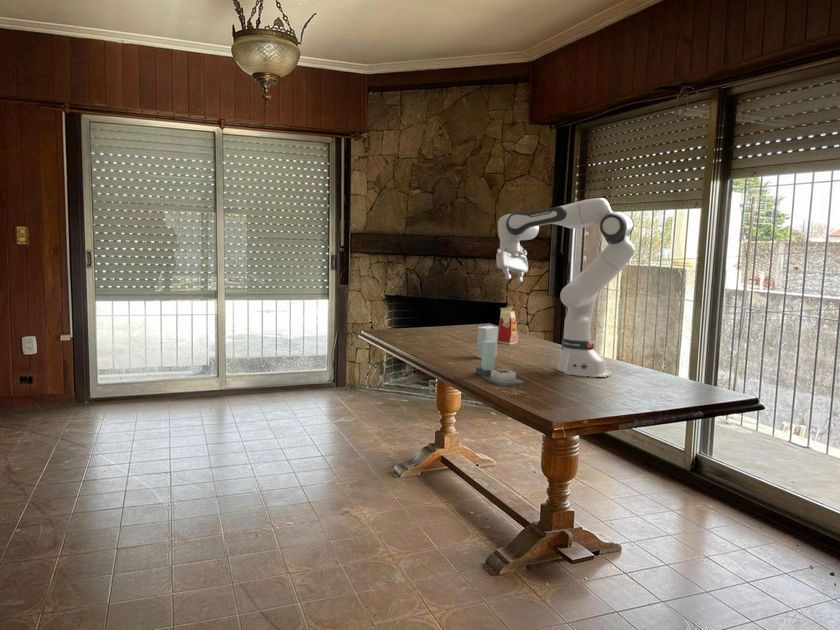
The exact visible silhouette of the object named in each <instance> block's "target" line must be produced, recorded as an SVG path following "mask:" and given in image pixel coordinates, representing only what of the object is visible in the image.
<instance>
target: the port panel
mask: <svg viewBox="0 0 840 630" xmlns="http://www.w3.org/2000/svg"><path fill="white" fill-rule="evenodd" d="M516 375H517V374H516V372H515V371H512V370H510V369H507V368H503V369H502V368H501V369H498V370H491V375H486V376H481V378H482V379H483V380H486V381H487V382H489V383H491V384H495V385H497V386H499V387H505V386H506V387H507V386H508V387H510V386H519V385H525V381H524V380H521V379H518V378H516Z"/></svg>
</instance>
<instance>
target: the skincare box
mask: <svg viewBox="0 0 840 630" xmlns="http://www.w3.org/2000/svg"><path fill="white" fill-rule="evenodd" d="M498 331H499V326H493V325H489V324H488V325H482V326H477V332H476V333H477V336H476V358H479V359H481V360H482V341H494V342H496V348H495V358H497V356H498V355H497V352H498V351H497V350H498V343H497V342H498Z"/></svg>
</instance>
